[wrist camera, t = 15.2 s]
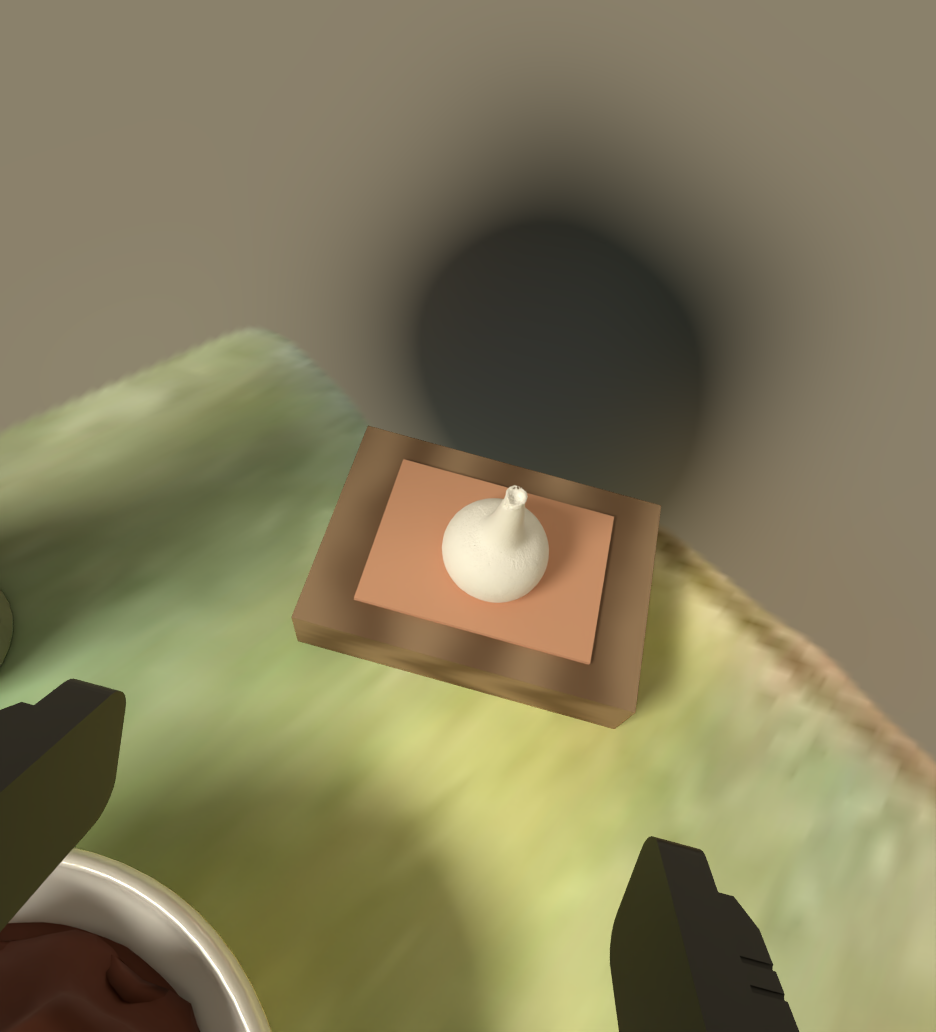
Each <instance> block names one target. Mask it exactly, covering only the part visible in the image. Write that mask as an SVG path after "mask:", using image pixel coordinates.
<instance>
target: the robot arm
mask: <svg viewBox="0 0 936 1032" xmlns="http://www.w3.org/2000/svg"><path fill="white" fill-rule="evenodd" d="M12 635H13V615H12V611H11V608H10V604H9V602H8V600H7V599H6V597H5V595H4V594H3V592H2V591H1V590H0V666H1V664H2V662H3V660H4V658H5V656H6V654H7V652H8V650H9V647H10V643H11V639H12ZM125 707H126V698H125V695H124V693H123V692H121V691H118V690H114V689H110V688H106V687H103V686H99V685H95V684H92V683H88V682H84V681H81V680H77V679H69V680H67V681H66V682H64V683H63V684H61V685H60V686H59V687H57V688H56V689H55V690H53V691H52V692H51V693H49V694H48V695H47V696H46V697H44V698H43V699H42V700H40V701H39V702H38V703H36V704H35V705H30V704H27V703H23V702H20V703H18V704H15V705H12V706H10V707H7V708H4V709H2V710H0V932H1V931H2V929H3V928H4V927H5V926H6V925H7V924H8V923H9V921H10V920H11V919H12V918H13V917H14V916H15V915H16V913H17V912H18V911H19V910H20V909H21V908H22V907H23V905H24V904H25V903H26V902H27V901H28V900H29V899H30V897H31V896H32V895H33V894H34V893H35V892H36V890H37V889H38V888H39V887H40V886H41V885H42V884H43V882H44V881H45V880H46V879H47V878H48V877H49V876H50V874H51V873H52V872H53V871H54V870H55V869H56V868H57V866H58V865H59V864H60V863H61V862H62V861H63V860H64V858H65V857H66V856H67V855H68V854H69V853H70V851H71V850H72V849H73V848H74V847H75V846H76V845H77V843H78V842H79V841H80V840H81V839H82V838H83V837H84V835H85V834H86V833H87V832H88V831H89V830H90V829H91V827H92V826H93V825H94V824H95V823H96V821H97V820H98V818H99V817H100V815H101V814H102V812H103V810H104V809H105V807H106V805H107V803H108V800H109V798H110V796H111V793H112V790H113V787H114V783H115V779H116V772H117V765H118V758H119V751H120V744H121V736H122V729H123V722H124V715H125ZM610 967H611V975H612V983H613V990H614V997H615V1005H616V1012H617V1020H618V1027H619V1032H799V1030H798V1027H797V1025H796V1022H795V1020H794V1017H793V1014H792V1012H791V1009H790V1007H789V1004H788V1002H786V1001H784V991H783V989H782V986H781V984H780V981H779V979H778V976H777V974H776V972H775V971H773V970H772V967H773V963H772V961H771V958H770V956H769V953H768V951H767V948H766V945H765V943H764V940H763V938H762V935H761V933H760V930H759V929H758V927H757V926H756V925H755V923H754V922H753V921H752V920H751V918H750V917H749V916H748V914H747V913H746V912H745V911H744V909H743V908H742V907H741V905H740V904H739V903H738V901H737V900H736V899H735V898H734V896H730V895H726V894H723V893H719V892H718V891H717V888H716V885H715V882H714V879H713V876H712V873H711V870H710V868H709V865H708V862H707V859H706V856H705V854H704V853H703V851H702V850H700V849H697V848H693V847H690V846H686V845H682V844H678V843H675V842H671V841H667V840H664V839H660V838H656V837H652V836H651V837H649V838H647V840H646V841H645V843H644V844H643V847H642V849H641V851H640V854H639V857H638V859H637V862H636V865H635V867H634V870H633V873H632V875H631V878H630V880H629V883H628V886H627V888H626V891H625V894H624V896H623V899H622V901H621V904H620V907H619V909H618V912H617V915H616V918H615V921H614V925H613V929H612V935H611V943H610Z"/></svg>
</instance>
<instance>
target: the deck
mask: <svg viewBox="0 0 936 1032" xmlns="http://www.w3.org/2000/svg"><path fill="white" fill-rule="evenodd" d="M403 459H405V460H408V461H412V462H416V463H419V464H423V465H427V466H430V467H434V468H438V469H441V470H445V471H449V472H452V473H456V474H460V475H463V476H467V477H471V478H474V479H478V480H482V481H485V482H489V483H493V484H496V485H500V486H504V487H507V488H509V487H510V486H514V485H516V486H517V489H519V486H520V489H521V487H522V489H524V491H526V493H529V494H533V495H536V496H540V497H544V498H547V499H551V500H555V501H558V502H562V503H566V504H569V505H573V506H577V507H580V508H584V509H588V510H591V511H595V512H599V513H602V514H606V515H610V516H613V517H614V520H613V527H612V533H611V539H610V545H609V551H608V557H607V563H606V569H605V576H604V582H603V588H602V594H601V600H600V606H599V612H598V619H597V625H596V631H595V637H594V643H593V649H592V655H591V662H590V664H589V665H588V664H584V663H581V662H577V661H573V660H570V659H566V658H563V657H559V656H555V655H552V654H548V653H544V652H541V651H537V650H534V649H530V648H526V647H523V646H519V645H516V644H512V643H508V642H505V641H501V640H498V639H494V638H490V637H487V636H483V635H480V634H476V633H472V632H469V631H465V630H461V629H458V628H454V627H451V626H447V625H443V624H440V623H436V622H433V621H429V620H425V619H422V618H418V617H415V616H411V615H407V614H404V613H400V612H396V611H393V610H389V609H386V608H382V607H378V606H375V605H371V604H368V603H364V602H360V601H357V600H354V596H355V593H356V590H357V588H358V585H359V582H360V579H361V576H362V574H363V571H364V568H365V565H366V562H367V560H368V557H369V554H370V551H371V548H372V545H373V543H374V540H375V537H376V534H377V531H378V529H379V526H380V523H381V520H382V517H383V515H384V512H385V509H386V506H387V503H388V501H389V498H390V495H391V492H392V489H393V486H394V484H395V481H396V478H397V475H398V472H399V470H400V467H401V464H402V461H403ZM515 488H516V487H514V488H513V489H515ZM660 510H661V505H657V504H654V503H650V502H646V501H643V500H638V499H635V498H632V497H628V496H624V495H620V494H617V493H613V492H610V491H606V490H602V489H598V488H595V487H591V486H587V485H584V484H580V483H576V482H573V481H569V480H565V479H562V478H558V477H554V476H551V475H547V474H544V473H540V472H536V471H532V470H529V469H525V468H521V467H518V466H514V465H510V464H506V463H503V462H499V461H496V460H492V459H488V458H485V457H481V456H477V455H474V454H470V453H466V452H463V451H459V450H455V449H451V448H448V447H444V446H441V445H437V444H433V443H429V442H426V441H422V440H419V439H415V438H411V437H408V436H404V435H400V434H397V433H393V432H389V431H385V430H382V429H378V428H375V427H371V426H368V427H367V429H366V432H365V434H364V437H363V439H362V442H361V444H360V447H359V449H358V452H357V454H356V457H355V459H354V462H353V464H352V467H351V469H350V472H349V474H348V477H347V479H346V482H345V484H344V487H343V489H342V492H341V494H340V497H339V499H338V502H337V505H336V507H335V510H334V512H333V515H332V517H331V520H330V522H329V525H328V527H327V530H326V532H325V535H324V537H323V540H322V542H321V545H320V547H319V550H318V552H317V555H316V557H315V560H314V562H313V565H312V567H311V570H310V572H309V575H308V577H307V580H306V582H305V585H304V587H303V590H302V592H301V595H300V597H299V600H298V602H297V605H296V607H295V610H294V612H293V615H292V621H293V624H294V628H295V632H296V636H297V639H298V641H300V642H304V643H307V644H311V645H314V646H318V647H322V648H325V649H329V650H332V651H336V652H340V653H343V654H347V655H350V656H354V657H358V658H361V659H365V660H368V661H372V662H376V663H379V664H383V665H386V666H390V667H393V668H397V669H401V670H404V671H408V672H411V673H415V674H419V675H422V676H426V677H429V678H433V679H437V680H440V681H444V682H447V683H451V684H455V685H458V686H462V687H465V688H469V689H472V690H476V691H480V692H483V693H487V694H490V695H494V696H498V697H501V698H505V699H508V700H512V701H516V702H519V703H523V704H526V705H530V706H534V707H537V708H541V709H544V710H548V711H551V712H555V713H559V714H562V715H566V716H569V717H573V718H577V719H580V720H584V721H587V722H591V723H595V724H598V725H602V726H605V727H609V728H613V729H615V728H616V727H617V726H619V725H620V724H621V723H623V722H624V721H625V720H627V719H628V718H629V717H630V716H632V715H633V714H634V713H635V711H636V703H637V695H638V687H639V679H640V671H641V663H642V655H643V647H644V639H645V631H646V623H647V615H648V607H649V599H650V591H651V583H652V575H653V567H654V559H655V551H656V543H657V535H658V527H659V519H660Z"/></svg>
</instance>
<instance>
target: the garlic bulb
mask: <svg viewBox="0 0 936 1032" xmlns="http://www.w3.org/2000/svg"><path fill="white" fill-rule="evenodd" d="M514 487H516V488H515V489H513V488H514ZM527 497H528V496H527V493H526V491H524V489H522V487H521V489H520V486H519V489H517V486H516V485H514V486H510V487H509V488H508V489H507V490H506V496H505V498H504V499H500V498H488V499H482V500H478V501H475V502H473V503H471V504H469V505H467V506H465V507H464V508H462V509H461V510H460V511H458V512H457V513H456V514H455V516H454V517H453V518H452V519H451V521H450V522H449V524H448V526H447V528H446V530H445V533H444V536H443V542H442V556H443V561H444V564H445V567H446V570H447V572H448V574H449V575H450V577H451V578H452V580H453V581H454V582H455V583H456V585H457V586H458V587H459V588H460V589H462V590H463V591H465V592H466V593H467V594H469V595H470V596H473V597H475V598H477V599H479V600H483V601H487V602H492V603H503V602H509V601H513V600H516V599H518V598H521V597H523V596H525V595H526V594H528V593H529V592H530V591H531V590H532V589H533V588H534V587H535V586H536V585H537V584H538V583H539V581H540V580H541V578H542V576H543V575H544V572H545V570H546V567H547V563H548V558H549V545H548V540H547V536H546V533H545V531H544V529H543V527H542V525H541V523H540V522H539V520H538V519H537V518H536V517H535V515H534V514H533V513H532V512H530V511H529V510H528V509H527V508H525V502H526V501H527Z"/></svg>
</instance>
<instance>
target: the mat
mask: <svg viewBox="0 0 936 1032" xmlns="http://www.w3.org/2000/svg"><path fill="white" fill-rule="evenodd" d="M507 489H508V488H507V487H504V486H500V485H496V484H493V483H489V482H485V481H482V480H478V479H474V478H471V477H467V476H463V475H460V474H456V473H452V472H449V471H445V470H441V469H438V468H434V467H430V466H427V465H423V464H419V463H416V462H412V461H408V460H405V459H403V461H402V464H401V467H400V470H399V472H398V475H397V478H396V481H395V484H394V486H393V489H392V492H391V495H390V498H389V501H388V503H387V506H386V509H385V512H384V515H383V517H382V520H381V523H380V526H379V529H378V531H377V534H376V537H375V540H374V543H373V545H372V548H371V551H370V554H369V557H368V560H367V562H366V565H365V568H364V571H363V574H362V576H361V579H360V582H359V585H358V588H357V590H356V593H355V596H354V600H357V601H360V602H364V603H368V604H371V605H375V606H378V607H382V608H386V609H389V610H393V611H396V612H400V613H404V614H407V615H411V616H415V617H418V618H422V619H425V620H429V621H433V622H436V623H440V624H443V625H447V626H451V627H454V628H458V629H461V630H465V631H469V632H472V633H476V634H480V635H483V636H487V637H490V638H494V639H498V640H501V641H505V642H508V643H512V644H516V645H519V646H523V647H526V648H530V649H534V650H537V651H541V652H544V653H548V654H552V655H555V656H559V657H563V658H566V659H570V660H573V661H577V662H581V663H584V664H588V665H589V664H590V662H591V655H592V649H593V643H594V637H595V631H596V625H597V619H598V612H599V606H600V600H601V594H602V588H603V582H604V576H605V569H606V563H607V557H608V551H609V545H610V539H611V533H612V527H613V520H614V517H613V516H610V515H606V514H602V513H599V512H595V511H591V510H588V509H584V508H580V507H577V506H573V505H569V504H566V503H562V502H558V501H555V500H551V499H547V498H544V497H540V496H536V495H533V494H529V493H527V496H528V497H527V501H526V502H525V508H527V509H528V510H529V511H530V512H532V513H533V514H534V515H535V517H536V518H537V519H538V520H539V522H540V523H541V525H542V527H543V529H544V531H545V533H546V536H547V540H548V545H549V558H548V563H547V567H546V570H545V572H544V575H543V576H542V578H541V580H540V581H539V583H538V584H537V585H536V586H535V587H534V588H533V589H532V590H531V591H530V592H529V593H528V594H526V595H525V596H523V597H521V598H518V599H516V600H513V601H509V602H503V603H492V602H487V601H483V600H479V599H477V598H475V597H473V596H470V595H469V594H467V593H466V592H465V591H463V590H462V589H460V588H459V587H458V586H457V585H456V583H455V582H454V581H453V580H452V578H451V577H450V575H449V574H448V572H447V570H446V567H445V564H444V561H443V556H442V542H443V536H444V533H445V530H446V528H447V526H448V524H449V522H450V521H451V519H452V518H453V517H454V516H455V514H456V513H457V512H458V511H460V510H461V509H462V508H464V507H465V506H467V505H469V504H471V503H473V502H475V501H478V500H482V499H488V498H500V499H504V498H505V496H506V490H507Z"/></svg>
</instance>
